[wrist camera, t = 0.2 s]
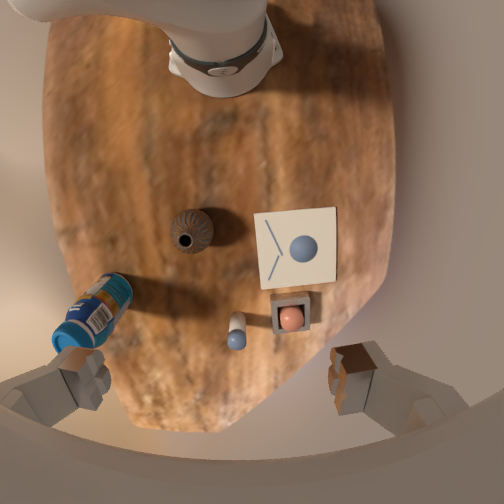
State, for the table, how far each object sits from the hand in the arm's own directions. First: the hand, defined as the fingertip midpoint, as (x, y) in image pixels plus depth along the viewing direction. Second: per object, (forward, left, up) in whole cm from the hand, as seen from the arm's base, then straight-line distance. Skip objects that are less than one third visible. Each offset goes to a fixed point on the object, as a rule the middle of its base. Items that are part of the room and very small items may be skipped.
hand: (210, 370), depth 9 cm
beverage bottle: (+15, -27, -39) cm, 50 cm away
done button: (+22, +7, -38) cm, 44 cm away
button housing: (+22, +7, -39) cm, 45 cm away
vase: (+4, -8, -39) cm, 40 cm away
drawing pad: (+10, +9, -39) cm, 41 cm away
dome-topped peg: (+23, -3, -39) cm, 45 cm away
